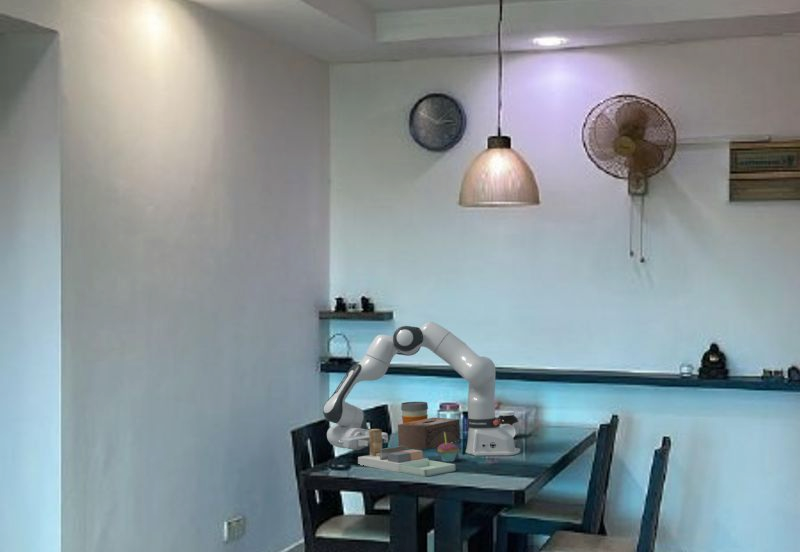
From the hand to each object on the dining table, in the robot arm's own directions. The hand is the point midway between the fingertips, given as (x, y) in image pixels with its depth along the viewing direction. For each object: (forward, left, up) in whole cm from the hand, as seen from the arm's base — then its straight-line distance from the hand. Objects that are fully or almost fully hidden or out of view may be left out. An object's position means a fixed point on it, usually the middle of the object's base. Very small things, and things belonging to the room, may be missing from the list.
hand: (377, 442), depth 415 cm
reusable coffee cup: (+10, -73, -8) cm, 74 cm away
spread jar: (-35, -70, -9) cm, 79 cm away
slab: (-8, +5, -8) cm, 13 cm away
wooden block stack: (-3, +2, -5) cm, 6 cm away
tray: (-26, +15, -8) cm, 31 cm away
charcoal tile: (-13, +11, -5) cm, 18 cm away
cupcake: (-26, -9, -8) cm, 29 cm away
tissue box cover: (-5, -49, -9) cm, 50 cm away
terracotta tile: (-16, +6, -5) cm, 18 cm away
